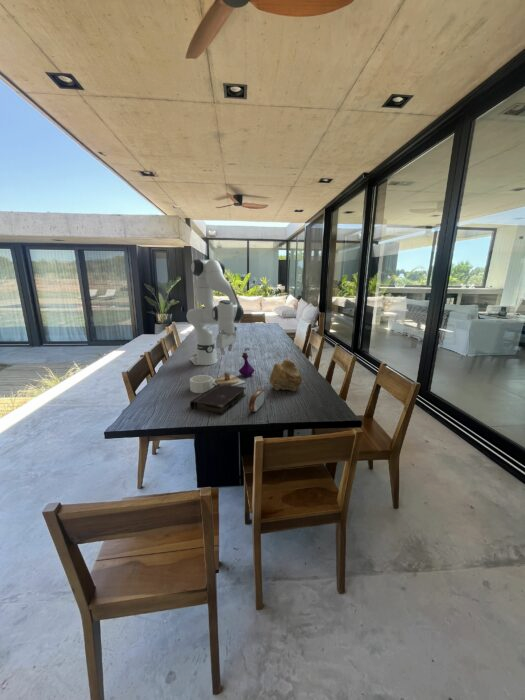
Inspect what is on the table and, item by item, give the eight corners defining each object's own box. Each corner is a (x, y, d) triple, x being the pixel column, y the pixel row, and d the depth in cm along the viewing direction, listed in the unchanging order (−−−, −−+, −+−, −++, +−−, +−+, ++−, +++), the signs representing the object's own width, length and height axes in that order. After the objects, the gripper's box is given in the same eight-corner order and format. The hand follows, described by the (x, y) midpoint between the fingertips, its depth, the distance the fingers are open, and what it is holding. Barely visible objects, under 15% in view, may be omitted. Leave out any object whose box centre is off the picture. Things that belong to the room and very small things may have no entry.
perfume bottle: (247, 378, 182) (247, 350, 178) (238, 375, 186) (237, 348, 182) (255, 375, 188) (255, 347, 183) (246, 372, 192) (245, 345, 188)
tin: (260, 401, 149) (260, 385, 147) (266, 402, 148) (266, 386, 146) (248, 414, 136) (247, 397, 134) (254, 415, 135) (254, 398, 132)
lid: (211, 380, 177) (210, 372, 175) (231, 375, 185) (231, 368, 184) (222, 387, 166) (222, 378, 165) (243, 381, 174) (243, 373, 173)
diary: (189, 409, 141) (189, 400, 140) (217, 391, 163) (217, 382, 162) (223, 416, 134) (223, 406, 133) (247, 396, 156) (247, 387, 155)
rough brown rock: (293, 399, 154) (296, 372, 150) (264, 391, 161) (267, 365, 157) (307, 386, 174) (310, 362, 170) (281, 379, 181) (284, 356, 177)
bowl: (187, 387, 166) (186, 377, 165) (206, 383, 173) (206, 373, 172) (196, 394, 157) (195, 384, 155) (216, 389, 164) (216, 379, 162)
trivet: (208, 380, 177) (208, 380, 177) (231, 375, 186) (231, 374, 186) (222, 389, 165) (222, 388, 165) (245, 383, 174) (245, 382, 174)
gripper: (223, 332, 157) (224, 357, 160) (238, 326, 176) (238, 349, 179) (212, 331, 159) (213, 356, 162) (228, 326, 178) (228, 348, 181)
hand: (226, 352), depth 171 cm, fingers open, 8 cm apart
